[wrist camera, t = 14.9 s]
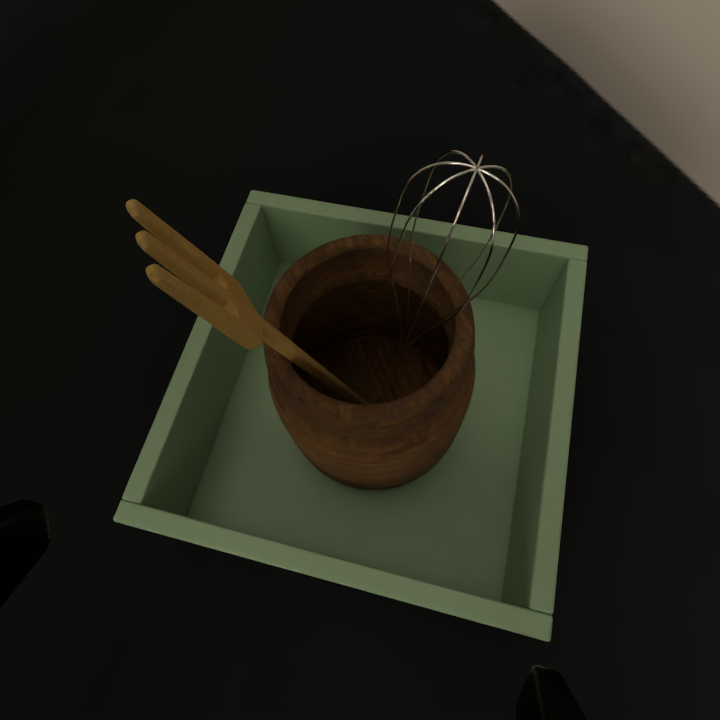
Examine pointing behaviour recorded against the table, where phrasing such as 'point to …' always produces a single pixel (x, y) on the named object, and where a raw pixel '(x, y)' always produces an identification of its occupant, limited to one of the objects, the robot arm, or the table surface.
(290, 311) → the utensil holder
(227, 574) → the table surface
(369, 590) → the tray
